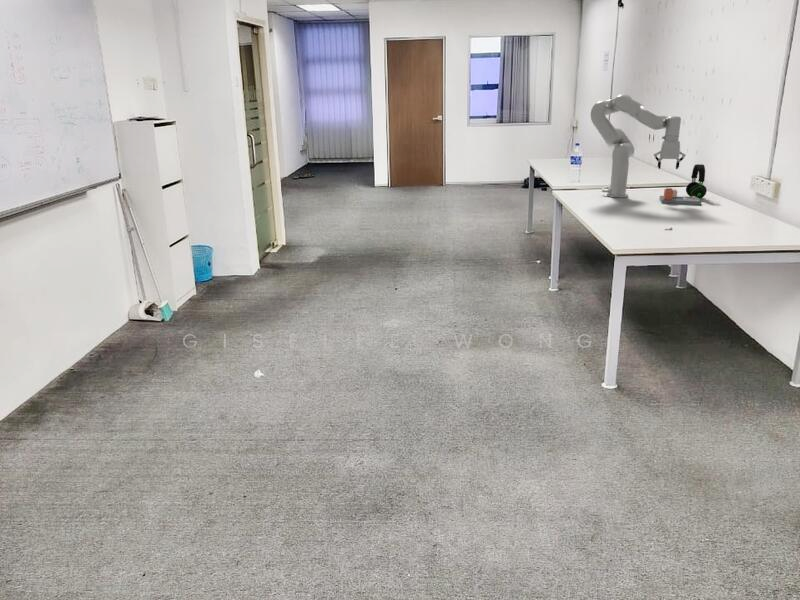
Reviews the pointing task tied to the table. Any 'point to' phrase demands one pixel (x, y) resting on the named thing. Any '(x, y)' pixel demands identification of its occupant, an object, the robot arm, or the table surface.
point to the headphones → (695, 187)
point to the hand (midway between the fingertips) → (667, 168)
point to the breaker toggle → (675, 193)
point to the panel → (682, 200)
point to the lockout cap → (668, 194)
